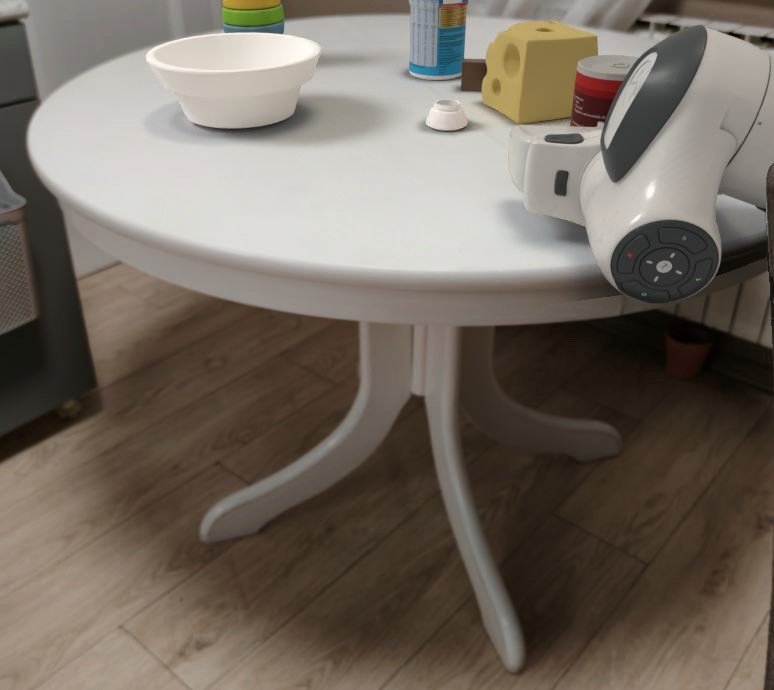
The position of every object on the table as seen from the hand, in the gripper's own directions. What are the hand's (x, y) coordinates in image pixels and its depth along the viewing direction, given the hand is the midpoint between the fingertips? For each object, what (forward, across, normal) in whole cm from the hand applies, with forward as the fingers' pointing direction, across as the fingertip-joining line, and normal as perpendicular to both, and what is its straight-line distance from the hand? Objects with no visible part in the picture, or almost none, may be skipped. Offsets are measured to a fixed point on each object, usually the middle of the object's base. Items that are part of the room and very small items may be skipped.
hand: (611, 129), depth 79 cm
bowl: (+19, +43, +6) cm, 47 cm away
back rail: (+34, +4, +6) cm, 35 cm away
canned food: (+4, 0, +6) cm, 7 cm away
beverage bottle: (+43, +20, +6) cm, 47 cm away
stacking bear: (+47, +48, +6) cm, 67 cm away
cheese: (+26, +6, +6) cm, 27 cm away
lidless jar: (+18, +17, +6) cm, 25 cm away
